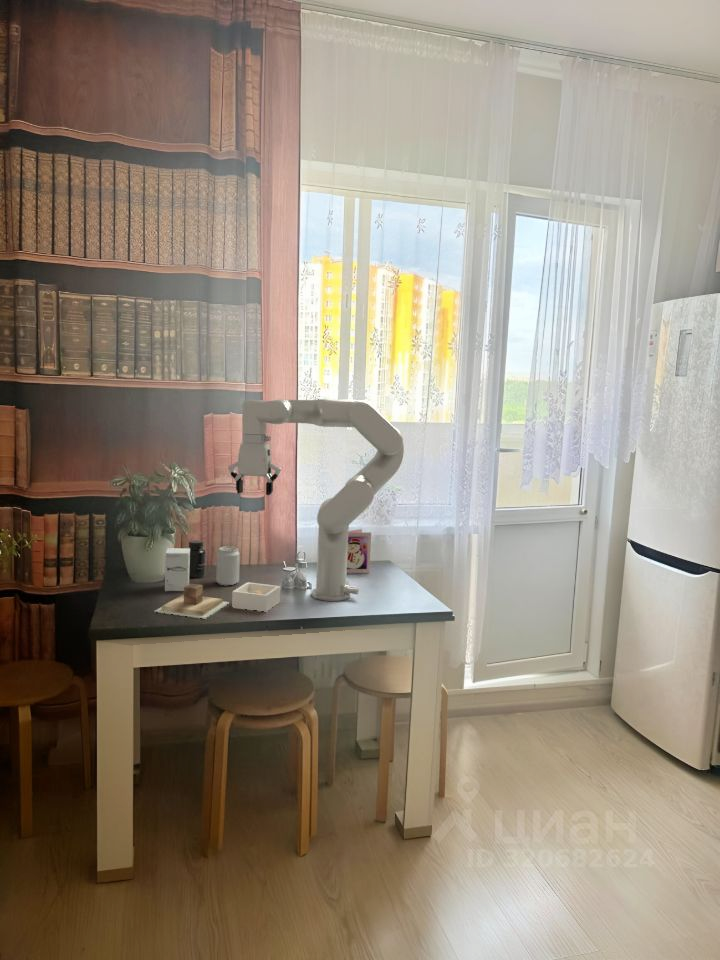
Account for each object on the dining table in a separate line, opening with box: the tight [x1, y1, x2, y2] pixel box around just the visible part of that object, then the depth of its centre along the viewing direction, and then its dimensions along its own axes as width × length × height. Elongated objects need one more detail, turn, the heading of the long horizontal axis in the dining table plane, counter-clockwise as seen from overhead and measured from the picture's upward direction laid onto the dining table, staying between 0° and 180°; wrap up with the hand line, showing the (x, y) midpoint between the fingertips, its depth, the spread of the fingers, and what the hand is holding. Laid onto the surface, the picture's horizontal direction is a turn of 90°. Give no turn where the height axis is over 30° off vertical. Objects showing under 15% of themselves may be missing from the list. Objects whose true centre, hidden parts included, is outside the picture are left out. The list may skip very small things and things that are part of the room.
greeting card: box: [346, 528, 372, 574], centre depth 266 cm, size 11×7×15 cm, turn 101°
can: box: [215, 546, 241, 587], centre depth 243 cm, size 8×8×12 cm
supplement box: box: [164, 547, 190, 592], centre depth 235 cm, size 7×7×13 cm
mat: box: [154, 600, 230, 620], centre depth 217 cm, size 16×16×1 cm
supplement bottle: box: [187, 539, 207, 579], centre depth 251 cm, size 7×7×12 cm
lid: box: [161, 583, 224, 615], centre depth 216 cm, size 13×13×6 cm
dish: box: [231, 581, 282, 613], centre depth 222 cm, size 11×11×5 cm
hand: (254, 493), depth 231 cm, fingers open, 9 cm apart
